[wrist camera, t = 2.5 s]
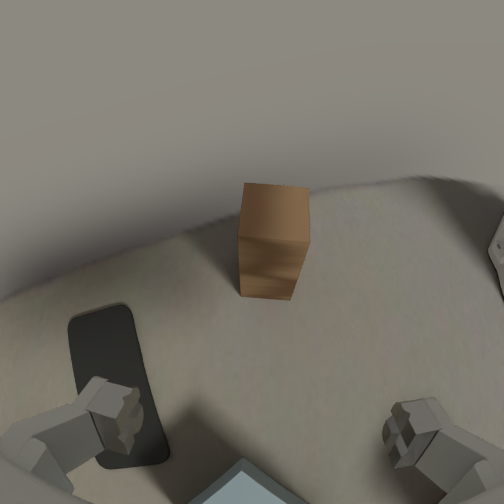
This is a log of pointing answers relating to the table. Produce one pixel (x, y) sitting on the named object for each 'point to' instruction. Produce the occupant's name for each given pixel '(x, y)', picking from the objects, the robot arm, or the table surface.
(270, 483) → the base block
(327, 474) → the table surface
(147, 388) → the phone
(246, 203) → the walnut post
